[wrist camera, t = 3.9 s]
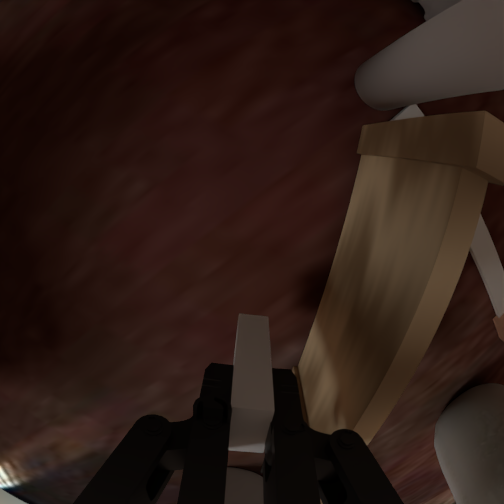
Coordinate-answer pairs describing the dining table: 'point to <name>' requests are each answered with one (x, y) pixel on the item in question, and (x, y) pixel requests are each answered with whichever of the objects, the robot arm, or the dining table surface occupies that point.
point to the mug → (243, 487)
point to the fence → (445, 90)
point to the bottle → (435, 6)
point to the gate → (396, 263)
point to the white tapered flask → (473, 445)
